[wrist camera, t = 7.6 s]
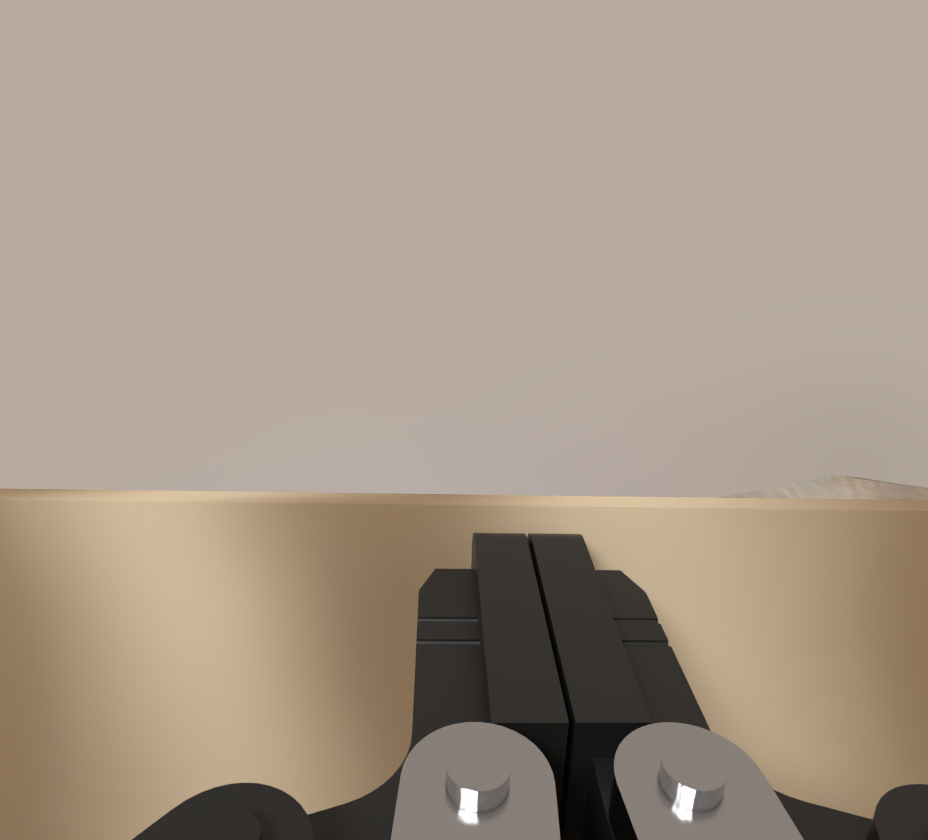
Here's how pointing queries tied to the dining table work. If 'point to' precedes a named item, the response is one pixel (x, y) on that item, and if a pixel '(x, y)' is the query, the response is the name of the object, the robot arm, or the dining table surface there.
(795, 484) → the dining table surface
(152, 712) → the front flap
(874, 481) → the dining table surface
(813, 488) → the dining table surface
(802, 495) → the dining table surface
